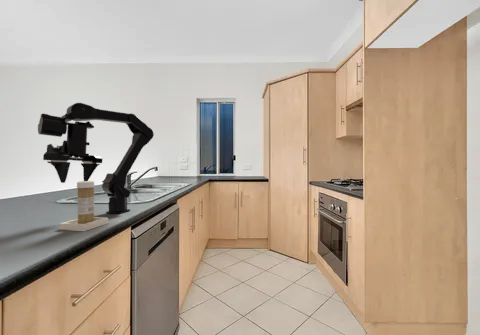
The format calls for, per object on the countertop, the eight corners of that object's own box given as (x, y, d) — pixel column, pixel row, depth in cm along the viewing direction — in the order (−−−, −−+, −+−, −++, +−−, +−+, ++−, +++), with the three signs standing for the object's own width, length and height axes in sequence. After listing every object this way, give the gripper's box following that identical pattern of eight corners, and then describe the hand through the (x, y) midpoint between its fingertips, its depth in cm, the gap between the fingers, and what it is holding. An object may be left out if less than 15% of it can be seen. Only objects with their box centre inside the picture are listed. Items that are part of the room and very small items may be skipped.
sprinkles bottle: (89, 220, 73) (89, 180, 73) (97, 222, 71) (97, 181, 71) (73, 224, 69) (73, 181, 69) (82, 226, 67) (82, 182, 67)
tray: (85, 221, 75) (85, 216, 75) (108, 223, 73) (108, 217, 73) (59, 229, 66) (59, 223, 66) (83, 231, 64) (83, 225, 64)
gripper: (79, 142, 89) (77, 180, 89) (29, 133, 71) (26, 182, 70) (104, 142, 88) (102, 181, 87) (60, 134, 69) (57, 183, 69)
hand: (74, 182), depth 78 cm, fingers open, 9 cm apart
